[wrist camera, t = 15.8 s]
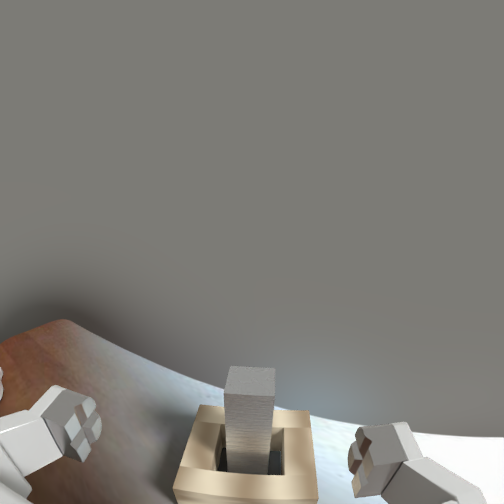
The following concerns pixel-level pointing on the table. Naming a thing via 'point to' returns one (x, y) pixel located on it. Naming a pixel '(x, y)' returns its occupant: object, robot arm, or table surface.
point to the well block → (247, 485)
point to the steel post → (249, 418)
